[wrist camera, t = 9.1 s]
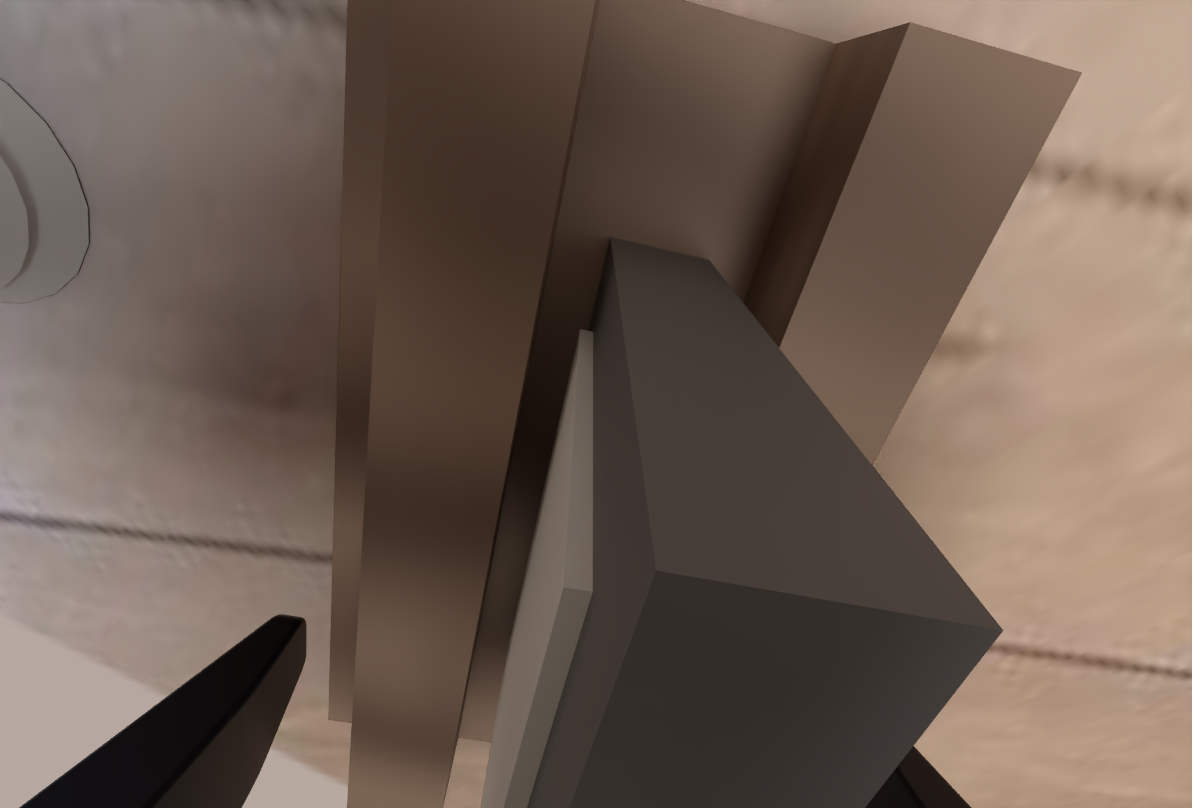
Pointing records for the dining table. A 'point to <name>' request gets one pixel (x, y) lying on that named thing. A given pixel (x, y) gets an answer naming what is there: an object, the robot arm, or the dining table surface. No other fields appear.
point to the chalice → (36, 206)
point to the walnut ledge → (573, 271)
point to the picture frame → (715, 577)
